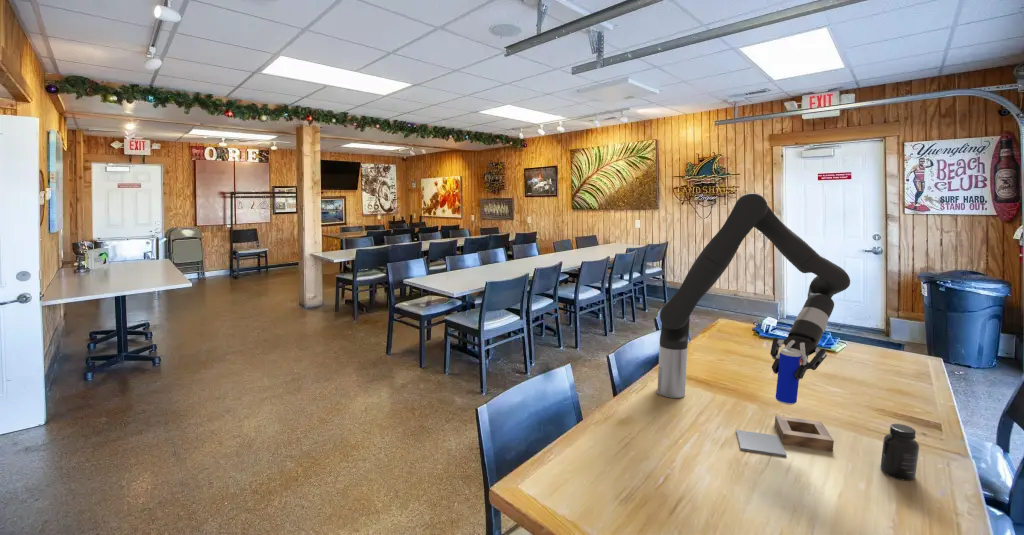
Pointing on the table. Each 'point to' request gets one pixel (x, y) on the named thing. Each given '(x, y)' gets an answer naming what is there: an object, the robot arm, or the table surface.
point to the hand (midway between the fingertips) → (785, 375)
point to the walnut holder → (790, 437)
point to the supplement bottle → (900, 452)
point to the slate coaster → (760, 443)
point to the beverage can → (788, 376)
